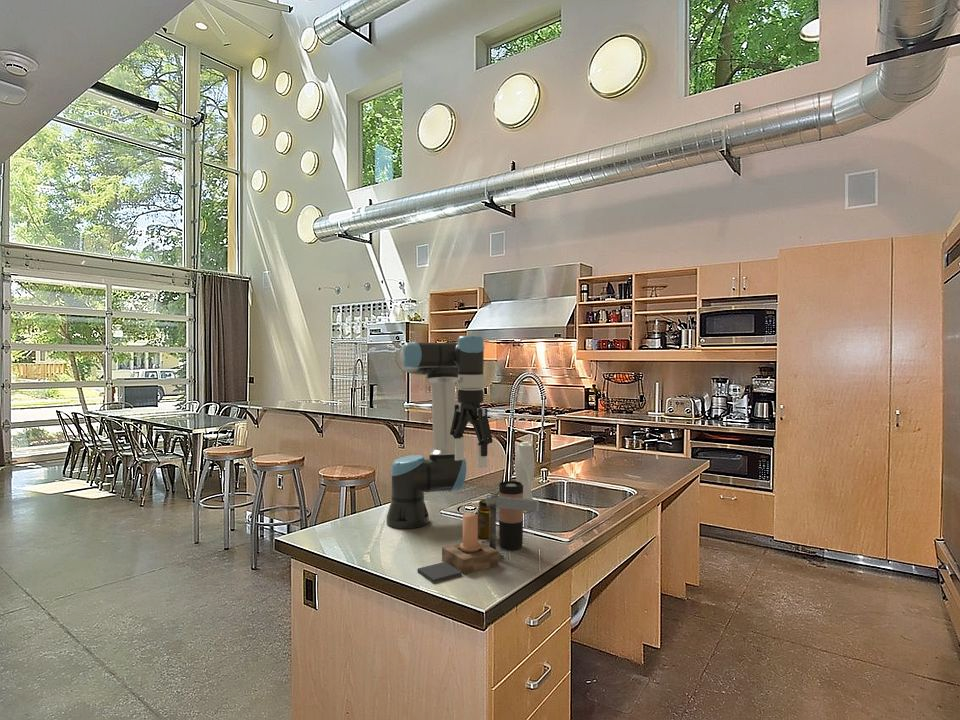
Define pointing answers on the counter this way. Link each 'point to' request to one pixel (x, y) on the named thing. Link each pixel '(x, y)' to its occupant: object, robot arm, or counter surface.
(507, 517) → the travel mug
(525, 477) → the skyscraper
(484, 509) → the condiment
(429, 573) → the mat
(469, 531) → the peg
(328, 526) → the counter surface
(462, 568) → the socket block
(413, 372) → the robot arm
